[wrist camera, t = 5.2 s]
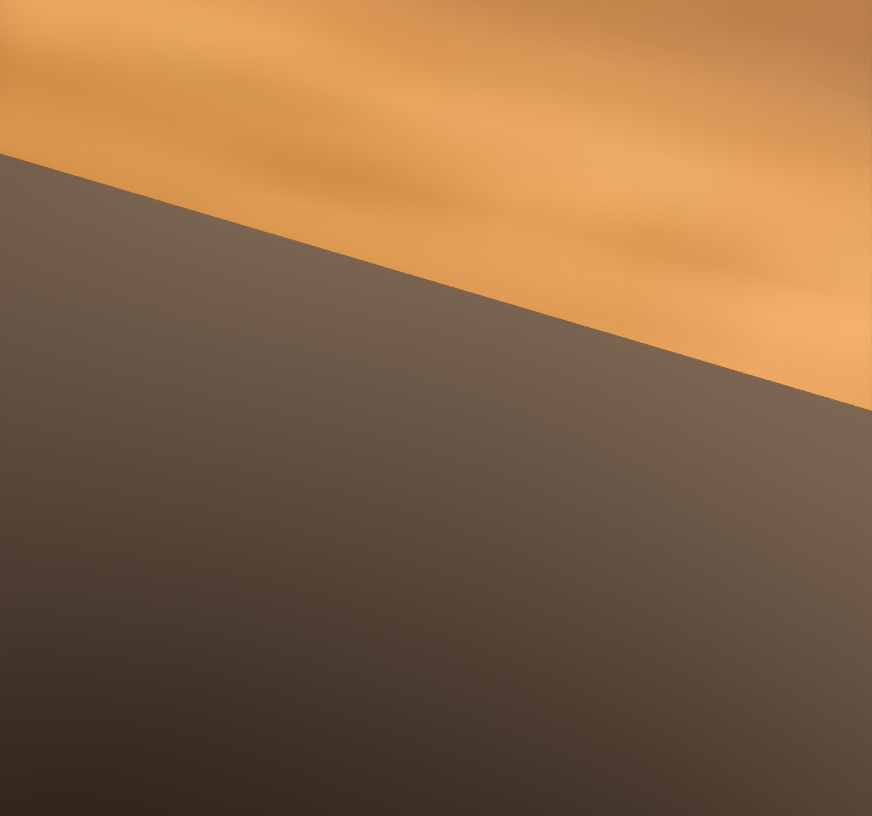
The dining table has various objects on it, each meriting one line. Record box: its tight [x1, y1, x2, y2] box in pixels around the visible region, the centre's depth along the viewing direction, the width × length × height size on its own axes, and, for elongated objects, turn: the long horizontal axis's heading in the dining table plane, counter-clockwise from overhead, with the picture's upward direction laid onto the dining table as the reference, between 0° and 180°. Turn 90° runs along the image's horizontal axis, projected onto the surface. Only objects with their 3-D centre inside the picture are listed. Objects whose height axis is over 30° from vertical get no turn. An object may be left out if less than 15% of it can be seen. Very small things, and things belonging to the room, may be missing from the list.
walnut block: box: [0, 154, 872, 816], centre depth 9 cm, size 5×5×13 cm
